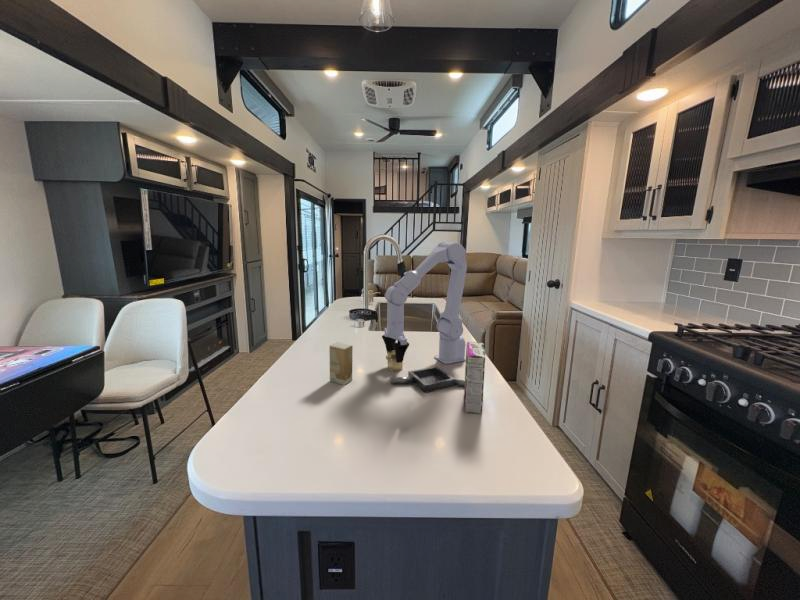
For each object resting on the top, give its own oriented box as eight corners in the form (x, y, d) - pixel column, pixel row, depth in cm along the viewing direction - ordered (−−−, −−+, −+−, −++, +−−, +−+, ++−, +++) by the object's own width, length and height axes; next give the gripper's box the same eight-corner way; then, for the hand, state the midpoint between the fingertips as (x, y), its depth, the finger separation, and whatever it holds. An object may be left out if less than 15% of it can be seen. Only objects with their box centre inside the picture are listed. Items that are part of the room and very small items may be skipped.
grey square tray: (436, 372, 110) (436, 365, 110) (455, 386, 101) (455, 378, 100) (408, 378, 106) (408, 371, 105) (424, 393, 96) (425, 385, 96)
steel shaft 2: (453, 386, 101) (453, 380, 100) (453, 383, 102) (454, 378, 102) (476, 389, 99) (476, 383, 98) (476, 386, 101) (476, 380, 100)
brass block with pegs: (400, 364, 117) (400, 349, 116) (405, 368, 114) (405, 352, 112) (384, 367, 114) (384, 351, 113) (388, 371, 111) (389, 355, 110)
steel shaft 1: (412, 381, 104) (412, 375, 103) (413, 384, 102) (413, 378, 101) (391, 382, 103) (391, 376, 103) (391, 385, 101) (391, 379, 101)
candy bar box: (463, 392, 97) (466, 341, 93) (480, 394, 96) (484, 342, 92) (463, 412, 86) (466, 355, 83) (482, 415, 85) (486, 356, 82)
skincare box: (329, 381, 103) (328, 345, 101) (337, 376, 107) (336, 341, 105) (345, 385, 100) (344, 348, 98) (353, 380, 104) (352, 344, 102)
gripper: (376, 317, 115) (376, 352, 118) (393, 327, 102) (392, 367, 105) (394, 315, 118) (394, 350, 121) (412, 325, 105) (411, 364, 108)
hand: (394, 358), depth 113 cm, fingers open, 7 cm apart
